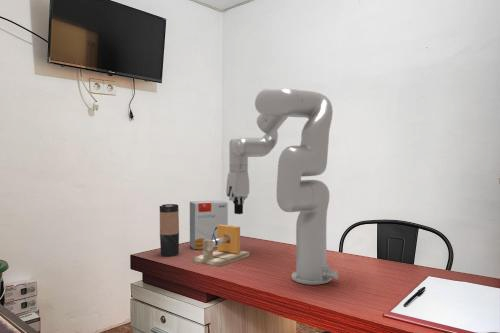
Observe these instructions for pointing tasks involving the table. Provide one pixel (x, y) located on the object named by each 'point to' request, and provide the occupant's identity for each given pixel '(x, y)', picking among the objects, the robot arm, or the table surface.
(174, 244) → the travel mug
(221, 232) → the collar
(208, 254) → the pipe stand
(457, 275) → the table surface
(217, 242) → the pipe
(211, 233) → the hard drive box
